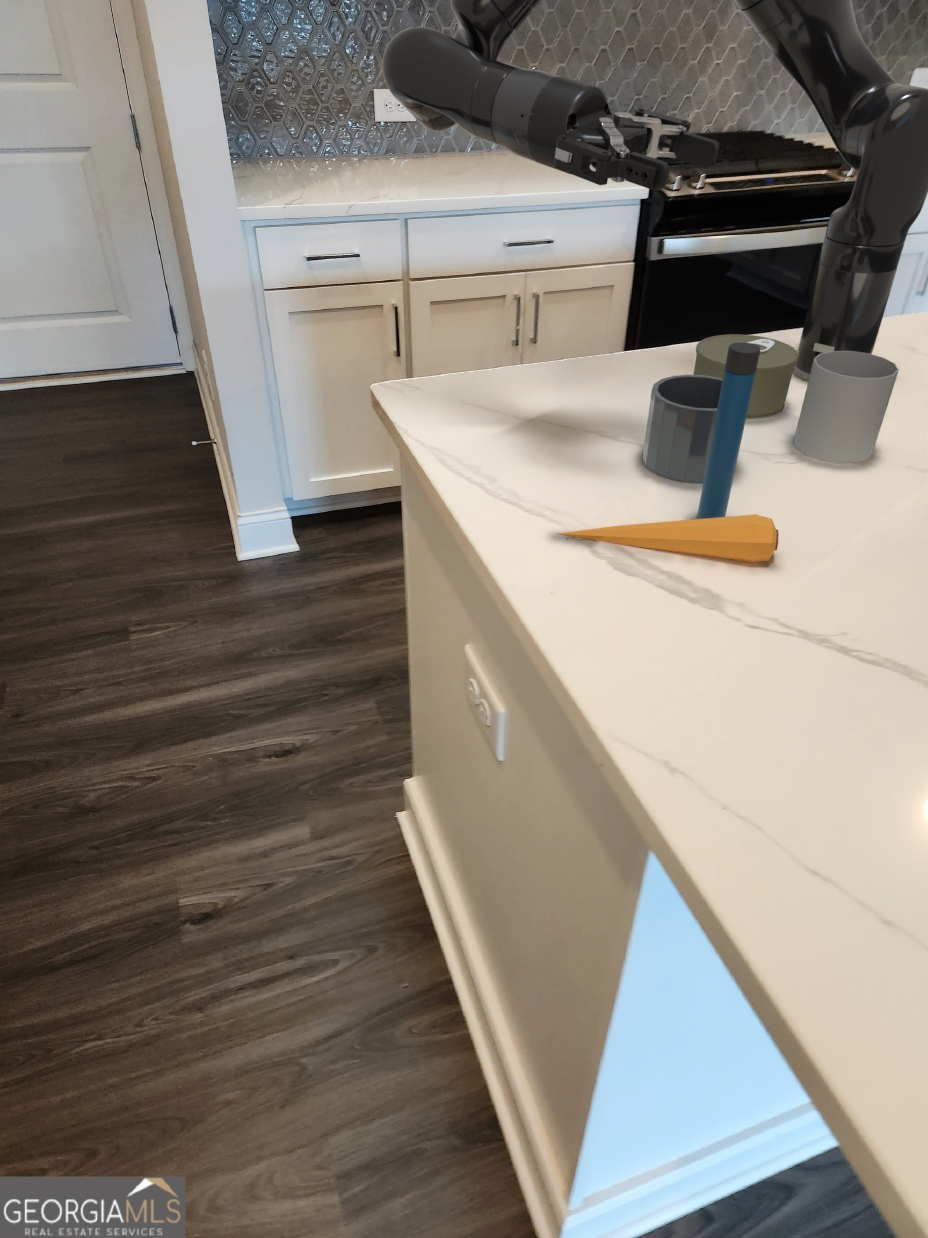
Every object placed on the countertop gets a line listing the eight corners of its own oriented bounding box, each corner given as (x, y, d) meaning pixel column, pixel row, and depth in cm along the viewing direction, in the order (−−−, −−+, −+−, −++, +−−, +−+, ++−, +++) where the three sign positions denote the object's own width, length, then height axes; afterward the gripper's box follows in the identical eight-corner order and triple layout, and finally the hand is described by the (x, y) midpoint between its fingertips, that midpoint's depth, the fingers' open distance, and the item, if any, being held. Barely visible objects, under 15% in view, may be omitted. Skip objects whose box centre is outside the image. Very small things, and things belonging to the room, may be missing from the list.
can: (668, 403, 105) (676, 349, 101) (720, 378, 112) (730, 327, 107) (753, 431, 98) (765, 374, 94) (803, 403, 105) (816, 349, 100)
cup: (876, 470, 90) (905, 381, 84) (797, 464, 91) (820, 375, 85) (863, 437, 96) (888, 352, 90) (789, 432, 98) (810, 348, 92)
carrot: (772, 560, 77) (776, 512, 76) (777, 569, 73) (781, 517, 72) (559, 553, 82) (560, 507, 81) (552, 560, 78) (553, 512, 76)
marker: (705, 515, 82) (740, 339, 72) (728, 525, 81) (766, 347, 70) (690, 524, 81) (723, 346, 70) (713, 534, 79) (749, 354, 69)
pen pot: (676, 438, 97) (687, 367, 91) (751, 466, 91) (768, 392, 86) (623, 464, 91) (632, 390, 86) (699, 496, 85) (714, 418, 80)
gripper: (505, 89, 74) (656, 137, 67) (597, 62, 82) (742, 103, 75) (498, 178, 80) (638, 231, 73) (586, 146, 87) (719, 191, 80)
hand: (691, 166), depth 74 cm, fingers open, 8 cm apart
